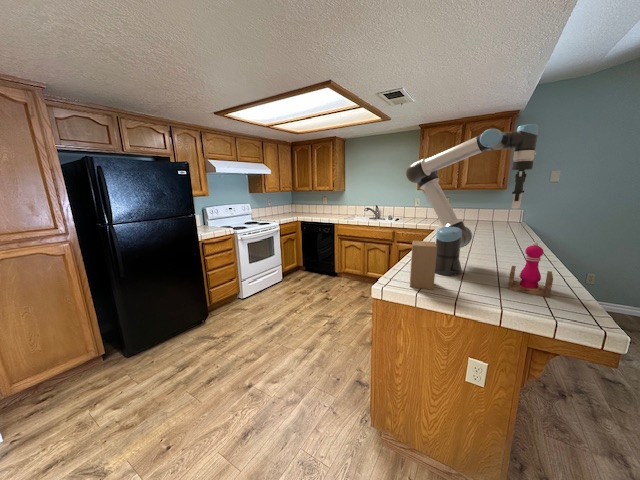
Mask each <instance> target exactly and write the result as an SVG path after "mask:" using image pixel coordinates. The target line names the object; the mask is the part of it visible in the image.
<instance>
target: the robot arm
mask: <svg viewBox="0 0 640 480" xmlns="http://www.w3.org/2000/svg"><path fill="white" fill-rule="evenodd" d="M538 136H539V125H538V124H537V123H528V124H521V125H519V126H518V127H517V129H516V130H515V131H506V132H503V131H501V130H500V129H498V128H489V129H486V130H484V131H483V132H482V133H481V134H479V135H478V136H475V137H473V138H471V139H468V140H466V141H464V142H462V143H460V144H457V145H455V146H453V147H450V148H449V149H446V150H444V151H442V152H439V153H437V154H435V155H432V156H430V157H428V158H422V159H418V160H417V161H414V162H412V163H411V164H410V165H408V166H407V168H406V171H405V174H406V175H405V176H406V178H407V180H408V181H410V182H411V183H412V184H413V183H414V184H417V185H418V188H419V190H422V191H424V193H425V196H426V197H427V199H428V200H429V202H430V205H431V207H432V209H433V210H434V212H435V215H436V217H437V218H438V220H439V222H440V224H441V226H442V227H439V228H438V229H437V232H436V236H435V238H436V240H435V243H436V246H437V255H436V267H435V274H437V275H442V276H451V277H452V276H453V277H454V276H460V275H461V274H462V271H463V270H462V269H463V268H462V265H461V261H460V254H461V248H464V247H467V246H468V245H469V244H470V243H471V241H472V240H473V232H472V231H471V229H470V228H469V227H467V226H466V225H465V224H464V222H463V220H461V219H459V218H458V217H457V215H456V213H455V212H454V210H453V208H452V205H451V204H450V202H449V200H448V199H447V196H446V195H445V192H444V191H443V189H442V187H441V185H440V183H439V182H440V177H439V171H440V170H441V169H443V168H446V167H448V166H451V165H453V164H455V163H459V162H461V161H464V160H466V159H468V158H470V157H473V156H476V155H479V154H481V153H483V152H485V151H496V150H497V151H499V150H509V149H512V150H513V149H514V150H513V157H512V160H513V162H512V166H511V170H512V171H517V172H516V174H515V176H514V178H515V180H514V182H515V185H514V189H513V191H512V192H511V194H512V195H513V196H512V202H511V203H512V204H511V209H516V210H517V209H520V207H521V205H522V204H521V203H522V198H523V197H522V196H523V194H524V193H525V190H524V189H523V188H524V183H525V182H526V178H527V173H526V170H528V171H529V170H532V169H533V165H534V161H533V160H535V156H536V155H537V152H536V147H537V141H538ZM438 170H439V171H438Z"/></svg>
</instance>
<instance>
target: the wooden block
mask: <svg viewBox="0 0 640 480" xmlns="http://www.w3.org/2000/svg"><path fill="white" fill-rule="evenodd" d="M436 255H437V246H436V241H425V240H421V241H420V240H413V241H412V244H411V260H410V276H409V287H410V288H415V289H424V290H431V291H432V290H434V287H435V278H436V276H435V275H436V273H435V267H436Z"/></svg>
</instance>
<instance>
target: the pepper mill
mask: <svg viewBox="0 0 640 480" xmlns="http://www.w3.org/2000/svg"><path fill="white" fill-rule="evenodd" d="M524 250H525V251H524V252H525V254H526V256H525V260H526V263H525V265H524V267H523V269H521V271H520V273H519V278H520V286H522V287H525V288H529V289H537V288H538V285H539V282H541V280H542V276H541V273H540V270H539V263H540V262H541V259H542V258H541V257H542V256H544V249H543V247H541V246H539V243H538V242H537V241H536V242H535V241H534V242H533V243H532V245H528V246H527V247H526V248H525V249H524Z"/></svg>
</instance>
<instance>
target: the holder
mask: <svg viewBox="0 0 640 480" xmlns="http://www.w3.org/2000/svg"><path fill="white" fill-rule="evenodd" d="M516 268H517V267H516V265H511V268H510V271H509V272H510V273H509V279H508V286H507V290H510V291H514V292H519V293H524V294H528V295H529V294H530V295H534V296H540V297H543V298H544V297H545V298H551V297H550V296H551V293H552V287H553V283H554V277H553V276H554V275H553V271H550V270H547V272H546V277H545V278H546V279H545V284H544V285H541V284H538V288H537V289H529V288H525V287H522V286H520V281H521V280H520V281H519V280H515V275H516V274H515V273H516Z"/></svg>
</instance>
